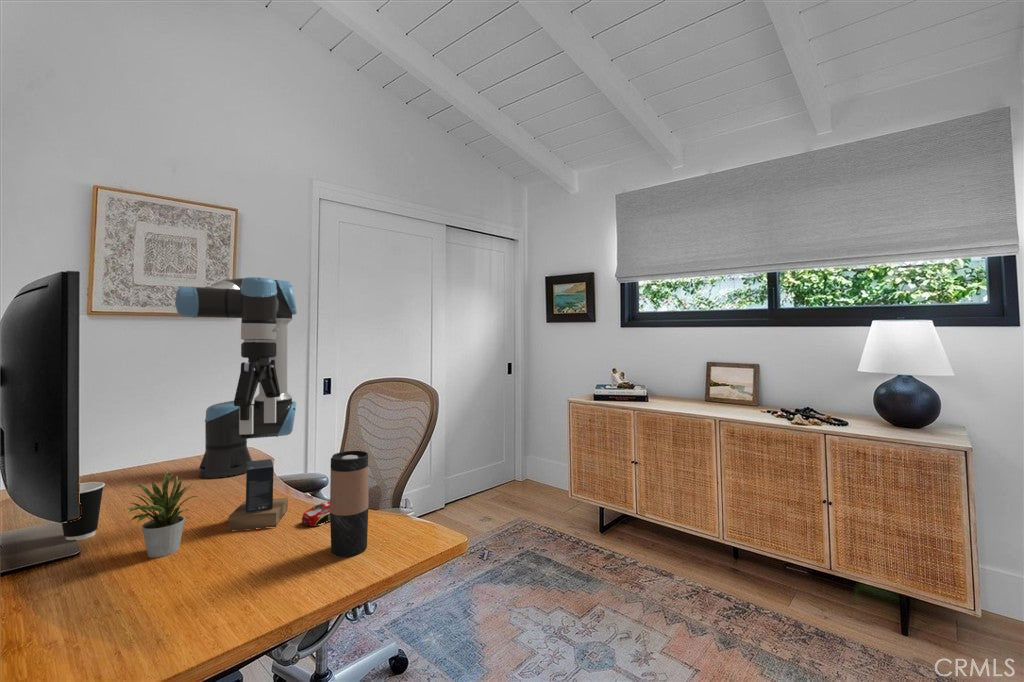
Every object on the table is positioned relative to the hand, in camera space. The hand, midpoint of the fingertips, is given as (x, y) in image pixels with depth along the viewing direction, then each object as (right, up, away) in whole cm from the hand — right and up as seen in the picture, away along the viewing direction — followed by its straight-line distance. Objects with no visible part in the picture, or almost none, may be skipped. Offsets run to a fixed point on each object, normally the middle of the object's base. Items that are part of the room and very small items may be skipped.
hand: (258, 428), depth 109 cm
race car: (+17, -23, +2) cm, 29 cm away
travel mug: (+28, -23, -15) cm, 39 cm away
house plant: (-12, -23, -15) cm, 30 cm away
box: (0, -19, 0) cm, 19 cm away
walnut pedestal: (0, -23, 0) cm, 23 cm away
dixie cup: (-35, -23, -9) cm, 42 cm away
